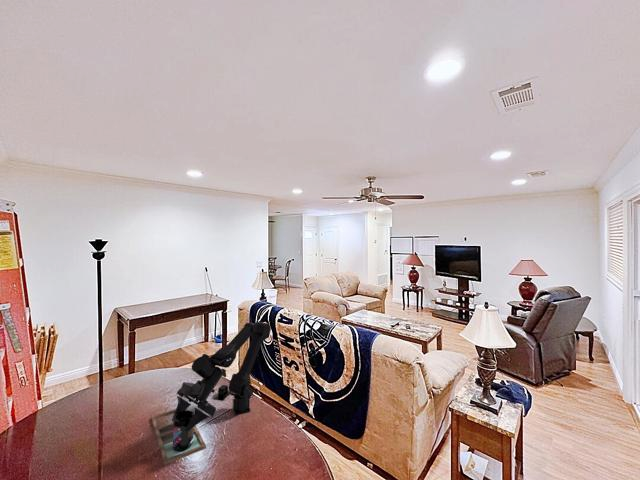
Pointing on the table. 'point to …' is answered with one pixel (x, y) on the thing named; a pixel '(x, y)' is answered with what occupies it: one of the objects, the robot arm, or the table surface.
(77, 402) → the table surface
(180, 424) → the supplement container
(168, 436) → the compartment sorting tray
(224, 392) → the black box
